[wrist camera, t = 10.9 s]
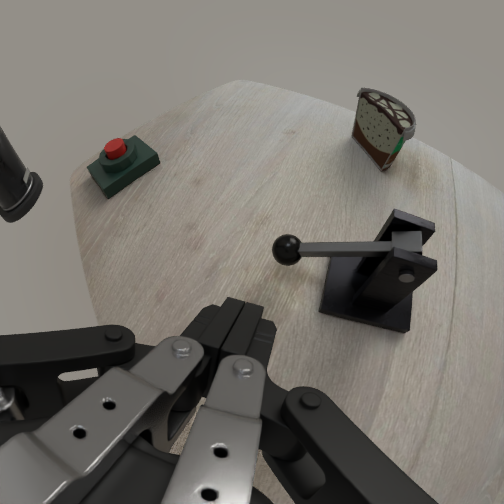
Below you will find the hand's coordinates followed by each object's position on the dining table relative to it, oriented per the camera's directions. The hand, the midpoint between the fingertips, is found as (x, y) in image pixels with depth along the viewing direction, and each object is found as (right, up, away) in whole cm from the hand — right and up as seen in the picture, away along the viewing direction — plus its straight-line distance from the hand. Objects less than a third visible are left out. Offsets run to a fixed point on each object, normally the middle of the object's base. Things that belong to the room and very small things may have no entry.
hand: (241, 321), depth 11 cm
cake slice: (+23, +20, +32) cm, 45 cm away
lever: (+10, +2, +15) cm, 18 cm away
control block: (-20, +16, +30) cm, 40 cm away
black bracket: (+14, -2, +20) cm, 24 cm away
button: (-20, +18, +27) cm, 38 cm away
